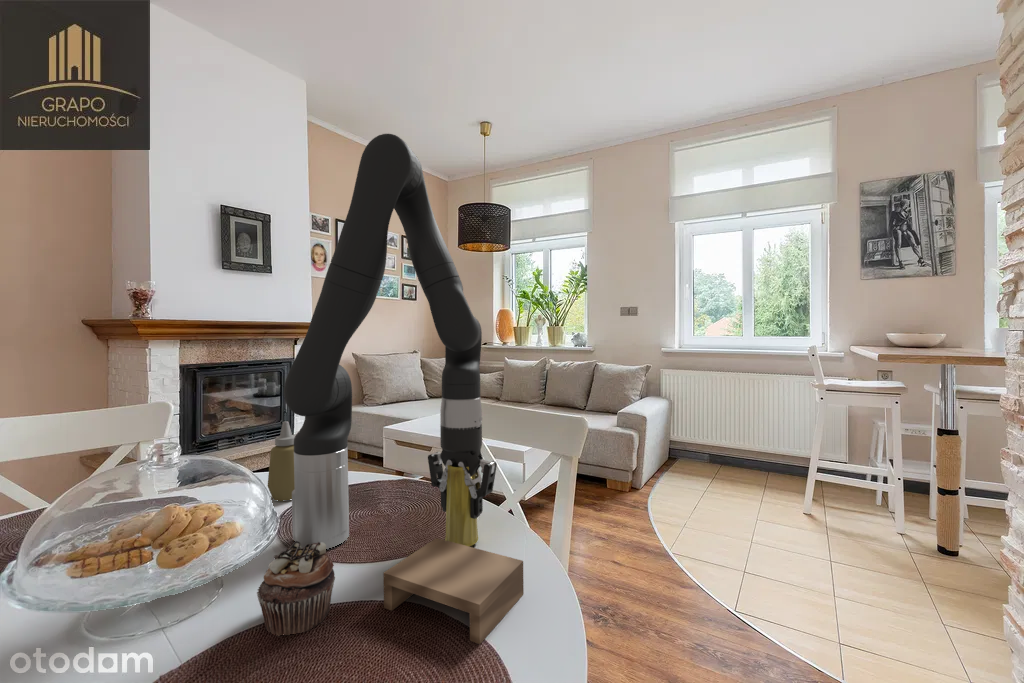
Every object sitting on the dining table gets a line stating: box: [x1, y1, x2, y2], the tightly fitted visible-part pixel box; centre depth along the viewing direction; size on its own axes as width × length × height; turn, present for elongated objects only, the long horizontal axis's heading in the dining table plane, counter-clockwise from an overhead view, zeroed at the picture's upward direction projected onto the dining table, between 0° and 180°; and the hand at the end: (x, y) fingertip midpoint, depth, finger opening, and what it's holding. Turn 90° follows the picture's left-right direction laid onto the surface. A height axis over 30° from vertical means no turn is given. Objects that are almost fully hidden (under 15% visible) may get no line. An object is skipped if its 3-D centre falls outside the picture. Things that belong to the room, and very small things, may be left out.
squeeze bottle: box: [267, 420, 296, 502], centre depth 106 cm, size 8×8×18 cm
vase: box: [444, 465, 479, 547], centre depth 82 cm, size 6×6×14 cm
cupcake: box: [256, 541, 336, 637], centre depth 62 cm, size 10×10×10 cm
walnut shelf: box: [382, 537, 525, 645], centre depth 65 cm, size 16×12×5 cm
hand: (461, 513), depth 82 cm, fingers closed on vase, 5 cm apart
